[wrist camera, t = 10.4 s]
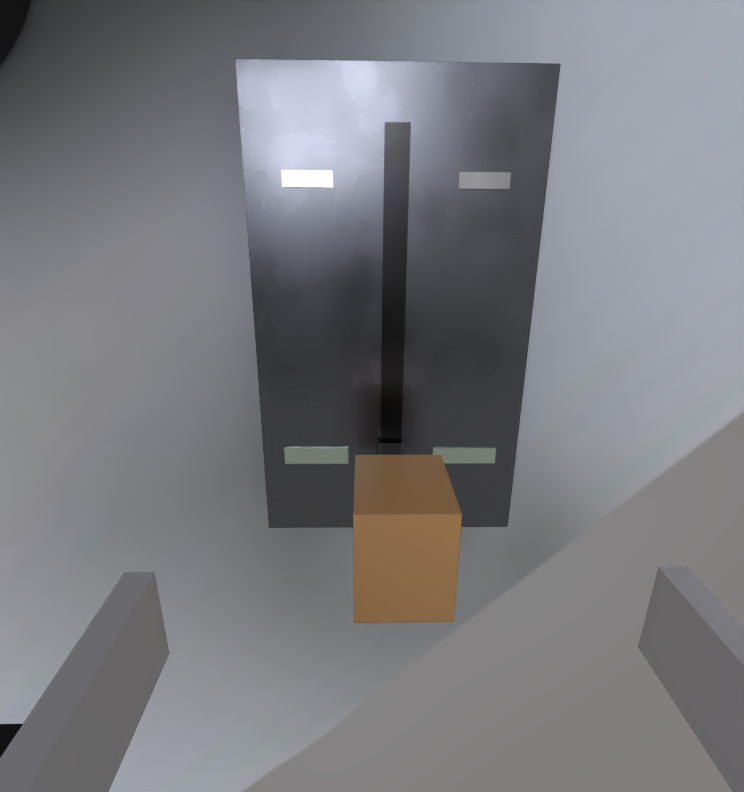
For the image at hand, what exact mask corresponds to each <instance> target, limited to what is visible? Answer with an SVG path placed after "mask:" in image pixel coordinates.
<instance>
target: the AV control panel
mask: <svg viewBox="0 0 744 792" xmlns="http://www.w3.org/2000/svg"><path fill="white" fill-rule="evenodd" d="M235 63H236V77H237V91H238V105H239V118H240V132H241V146H242V160H243V174H244V188H245V201H246V215H247V229H248V243H249V257H250V270H251V284H252V298H253V312H254V326H255V340H256V353H257V367H258V381H259V395H260V409H261V422H262V436H263V450H264V464H265V478H266V492H267V505H268V519H269V528H298V527H353V509H354V479H355V455H378V443H404V445H405V450H406V455H441V456H442V459H443V462H444V465H445V468H446V470H447V473H448V476H449V479H450V482H451V485H452V488H453V490H454V493H455V496H456V499H457V502H458V505H459V508H460V510H461V513H462V519H461V527H507V526H508V518H509V509H510V500H511V492H512V483H513V474H514V465H515V457H516V448H517V439H518V430H519V422H520V413H521V404H522V396H523V387H524V378H525V369H526V361H527V352H528V343H529V334H530V326H531V317H532V308H533V299H534V291H535V282H536V273H537V265H538V256H539V247H540V238H541V230H542V221H543V212H544V203H545V195H546V186H547V177H548V169H549V160H550V151H551V142H552V134H553V125H554V116H555V107H556V99H557V90H558V81H559V73H560V64H542V63H474V62H405V61H337V60H268V59H235Z"/></svg>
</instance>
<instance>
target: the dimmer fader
mask: <svg viewBox="0 0 744 792" xmlns="http://www.w3.org/2000/svg"><path fill="white" fill-rule="evenodd" d="M461 519H462V513H461V510H460V508H459V505H458V502H457V499H456V496H455V493H454V490H453V488H452V485H451V482H450V479H449V476H448V473H447V470H446V468H445V465H444V462H443V459H442V456H441V455H406V450H405V445H404V443H378V455H355V479H354V509H353V542H354V623H381V622H453V621H454V608H455V596H456V583H457V570H458V557H459V544H460V531H461Z"/></svg>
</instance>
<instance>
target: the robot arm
mask: <svg viewBox="0 0 744 792" xmlns="http://www.w3.org/2000/svg"><path fill="white" fill-rule="evenodd" d="M30 1H31V0H0V64H1V63H2V62H3V60H4V59H5V57H6V56H7V54H8V53H9V51H10V50H11V48H12V46H13V44H14V42H15V41H16V39H17V37H18V35H19V32H20V30H21V28H22V26H23V23H24V20H25V17H26V15H27V12H28V9H29V5H30ZM638 648H639V649H640V651H641V652H642V654H643V655H644V657H645V658H646V660H647V661H648V663H649V664H650V666H651V667H652V669H653V670H654V672H655V674H656V675H657V677H658V678H659V680H660V681H661V683H662V684H663V686H664V687H665V689H666V690H667V692H668V693H669V695H670V697H671V698H672V699H673V701H674V703H675V704H676V706H677V707H678V709H679V710H680V712H681V713H682V715H683V716H684V718H685V719H686V721H687V722H688V724H689V726H690V727H691V729H692V730H693V732H694V733H695V735H696V736H697V738H698V739H699V741H700V742H701V744H702V745H703V747H704V749H705V750H706V752H707V753H708V754H709V756H710V758H711V759H712V761H713V762H714V764H715V765H716V767H717V768H718V770H719V771H720V773H721V775H722V776H723V778H724V779H725V781H726V782H727V784H728V785H729V787H730V788H731V790H732V791H733V792H744V626H743V625H742V624H741V623H740V622H739V621H738V620H737V619H736V618H735V617H734V616H733V615H732V614H731V612H730V611H729V610H728V609H727V608H726V607H725V606H724V605H723V604H722V603H721V602H720V601H719V600H718V599H717V598H716V597H715V596H714V595H713V593H711V591H710V590H709V589H708V588H707V587H706V586H705V585H704V584H703V583H702V582H701V581H700V580H699V579H698V578H697V577H696V576H695V574H693V572H692V571H691V570H690V569H689V568H688V567H658V571H657V575H656V579H655V583H654V587H653V591H652V594H651V598H650V602H649V606H648V610H647V614H646V618H645V622H644V626H643V630H642V633H641V637H640V641H639V645H638ZM168 655H169V650H168V644H167V639H166V633H165V628H164V622H163V617H162V611H161V605H160V600H159V594H158V589H157V583H156V578H155V572H130V573H124V574H123V575H122V577H121V578H120V580H119V581H118V583H117V584H116V586H115V587H114V589H113V590H112V592H111V593H110V595H109V596H108V598H107V599H106V601H105V602H104V604H103V605H102V607H101V608H100V610H99V611H98V613H97V614H96V616H95V617H94V619H93V620H92V622H91V623H90V625H89V626H88V628H87V629H86V631H85V632H84V634H83V635H82V637H81V638H80V639H79V641H78V642H77V644H76V645H75V647H74V648H73V650H72V651H71V653H70V654H69V656H68V657H67V659H66V660H65V662H64V663H63V665H62V666H61V668H60V669H59V671H58V672H57V674H56V675H55V677H54V678H53V680H52V681H51V683H50V684H49V686H48V687H47V689H46V690H45V692H44V693H43V695H42V696H41V698H40V699H39V701H38V702H37V704H36V705H35V707H34V708H33V710H32V711H31V713H30V714H29V716H28V717H27V719H26V720H25V722H24V723H23V724H0V792H109V789H110V787H111V785H112V783H113V780H114V778H115V776H116V773H117V771H118V769H119V767H120V764H121V762H122V760H123V758H124V755H125V753H126V751H127V748H128V746H129V744H130V742H131V739H132V737H133V735H134V733H135V730H136V728H137V726H138V723H139V721H140V719H141V717H142V714H143V712H144V710H145V708H146V705H147V703H148V701H149V698H150V696H151V694H152V692H153V689H154V687H155V685H156V682H157V680H158V678H159V676H160V673H161V671H162V669H163V667H164V664H165V662H166V660H167V657H168Z"/></svg>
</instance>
